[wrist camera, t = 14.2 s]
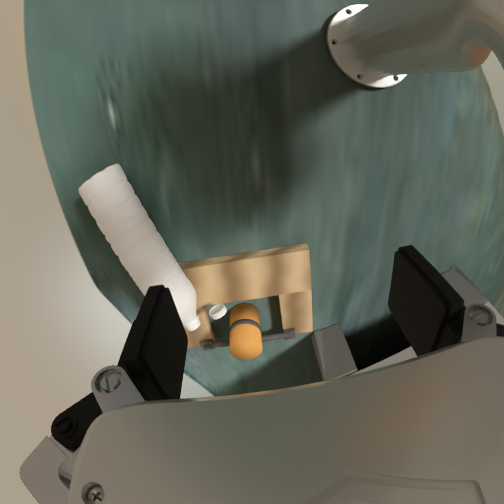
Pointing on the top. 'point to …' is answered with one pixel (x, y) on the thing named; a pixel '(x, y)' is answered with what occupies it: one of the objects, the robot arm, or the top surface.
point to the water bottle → (139, 241)
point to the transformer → (342, 364)
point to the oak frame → (253, 288)
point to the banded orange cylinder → (245, 331)
